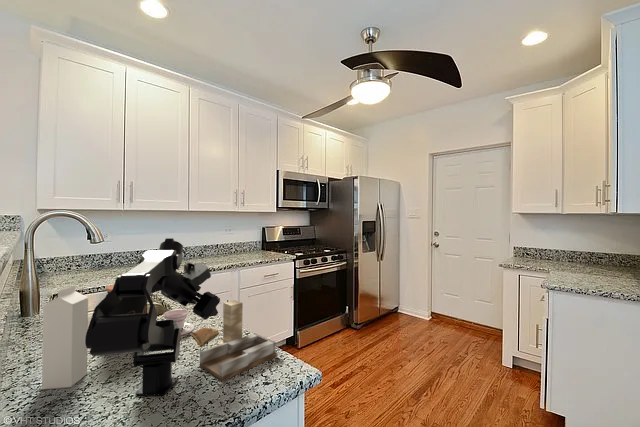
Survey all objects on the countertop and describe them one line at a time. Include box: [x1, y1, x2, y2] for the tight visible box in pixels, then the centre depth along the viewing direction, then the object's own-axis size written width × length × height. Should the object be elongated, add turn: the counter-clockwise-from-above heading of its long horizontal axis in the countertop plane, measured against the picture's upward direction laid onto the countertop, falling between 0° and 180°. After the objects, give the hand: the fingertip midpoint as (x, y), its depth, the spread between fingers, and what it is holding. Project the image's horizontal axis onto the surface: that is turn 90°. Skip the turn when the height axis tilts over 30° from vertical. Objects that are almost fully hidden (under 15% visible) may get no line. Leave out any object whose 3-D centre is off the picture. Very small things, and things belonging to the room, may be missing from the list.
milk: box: [41, 284, 89, 390], centre depth 70 cm, size 6×6×22 cm
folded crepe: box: [191, 327, 220, 347], centre depth 96 cm, size 11×8×2 cm
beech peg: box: [216, 300, 244, 346], centre depth 90 cm, size 6×6×13 cm
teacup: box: [163, 308, 195, 336], centre depth 102 cm, size 12×12×6 cm
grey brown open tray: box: [199, 332, 278, 382], centre depth 81 cm, size 17×11×4 cm, turn 139°
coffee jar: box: [105, 283, 148, 316], centre depth 90 cm, size 11×11×18 cm
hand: (206, 308), depth 88 cm, fingers open, 9 cm apart
